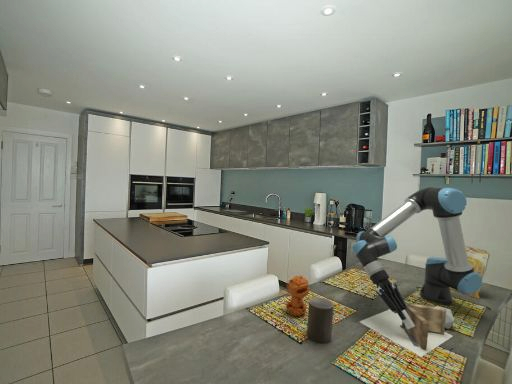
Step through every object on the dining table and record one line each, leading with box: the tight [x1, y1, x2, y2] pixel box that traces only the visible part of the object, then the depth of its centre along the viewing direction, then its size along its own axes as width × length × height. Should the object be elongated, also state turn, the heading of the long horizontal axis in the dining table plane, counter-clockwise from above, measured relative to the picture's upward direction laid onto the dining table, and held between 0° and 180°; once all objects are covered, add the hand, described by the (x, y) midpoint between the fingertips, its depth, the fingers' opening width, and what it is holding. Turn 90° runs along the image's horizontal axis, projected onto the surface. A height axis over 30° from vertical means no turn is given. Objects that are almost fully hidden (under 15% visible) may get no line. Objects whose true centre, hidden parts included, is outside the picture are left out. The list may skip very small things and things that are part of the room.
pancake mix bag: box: [450, 245, 490, 299], centre depth 156 cm, size 7×19×28 cm, turn 24°
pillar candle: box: [306, 297, 334, 344], centre depth 104 cm, size 10×10×15 cm
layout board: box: [358, 308, 454, 359], centre depth 112 cm, size 27×26×1 cm
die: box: [435, 305, 455, 330], centre depth 117 cm, size 8×9×10 cm
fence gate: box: [405, 306, 429, 350], centre depth 104 cm, size 14×2×10 cm, turn 176°
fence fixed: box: [402, 302, 447, 335], centre depth 111 cm, size 16×2×10 cm, turn 78°
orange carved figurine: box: [285, 274, 311, 317], centre depth 121 cm, size 11×11×18 cm
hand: (411, 327), depth 104 cm, fingers closed
